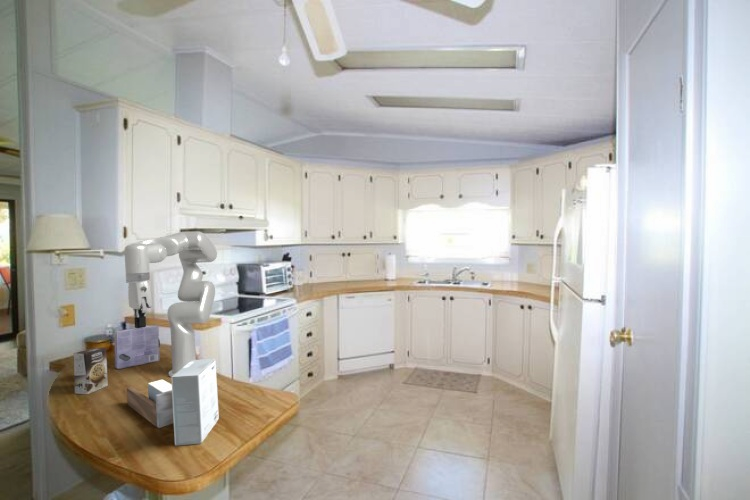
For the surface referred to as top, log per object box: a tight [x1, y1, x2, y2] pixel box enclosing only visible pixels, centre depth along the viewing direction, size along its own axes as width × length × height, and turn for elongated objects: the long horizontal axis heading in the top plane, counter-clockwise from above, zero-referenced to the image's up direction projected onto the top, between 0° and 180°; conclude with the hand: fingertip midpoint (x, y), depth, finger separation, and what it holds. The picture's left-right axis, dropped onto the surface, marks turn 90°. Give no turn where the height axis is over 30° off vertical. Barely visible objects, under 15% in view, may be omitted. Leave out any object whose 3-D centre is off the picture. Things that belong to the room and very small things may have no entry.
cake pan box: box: [114, 325, 161, 370], centre depth 187 cm, size 19×5×18 cm, turn 134°
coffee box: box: [73, 346, 109, 395], centre depth 154 cm, size 9×6×16 cm
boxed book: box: [147, 379, 172, 403], centre depth 128 cm, size 4×14×10 cm, turn 48°
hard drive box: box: [170, 358, 220, 446], centre depth 115 cm, size 16×8×20 cm, turn 5°
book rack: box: [126, 386, 174, 429], centre depth 132 cm, size 9×30×10 cm, turn 49°
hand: (140, 327), depth 141 cm, fingers closed
